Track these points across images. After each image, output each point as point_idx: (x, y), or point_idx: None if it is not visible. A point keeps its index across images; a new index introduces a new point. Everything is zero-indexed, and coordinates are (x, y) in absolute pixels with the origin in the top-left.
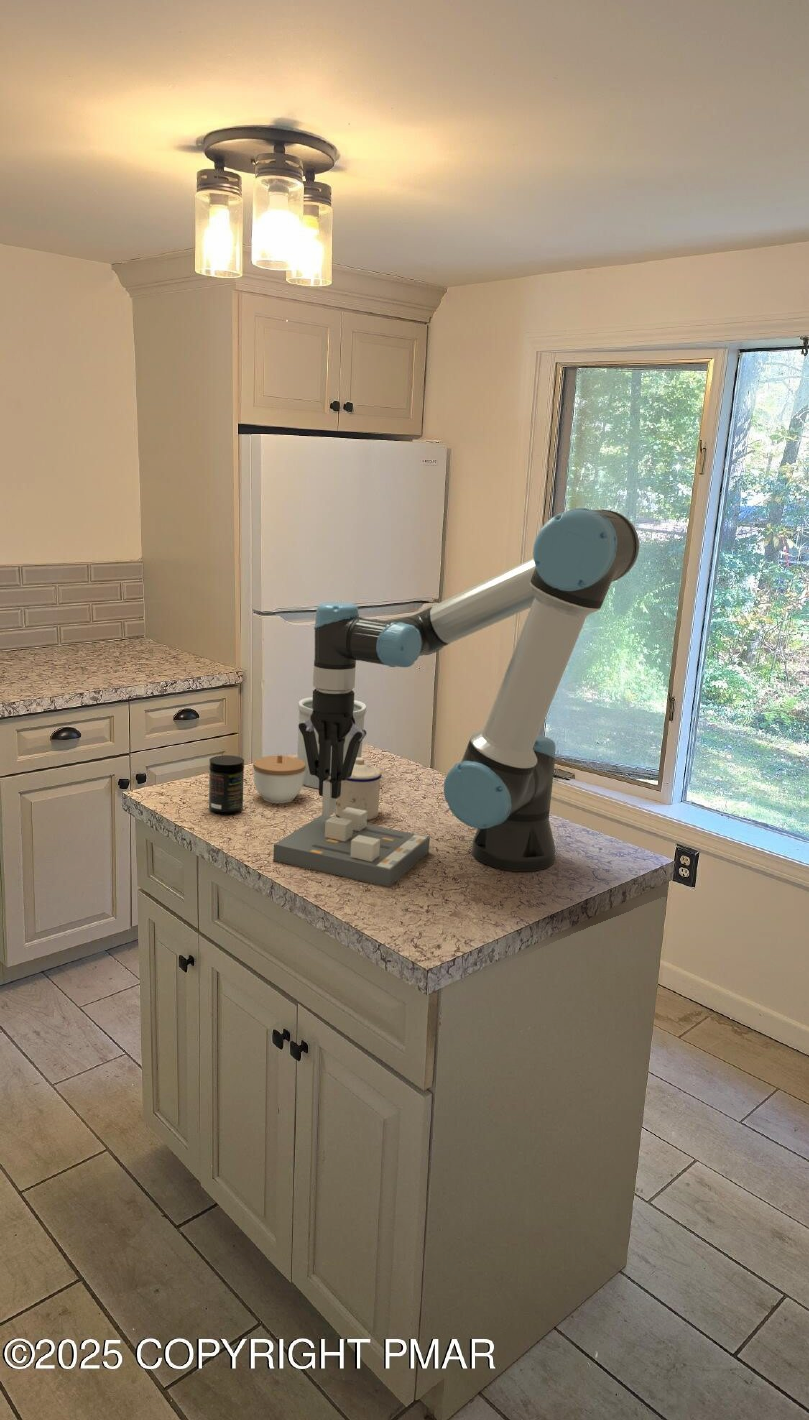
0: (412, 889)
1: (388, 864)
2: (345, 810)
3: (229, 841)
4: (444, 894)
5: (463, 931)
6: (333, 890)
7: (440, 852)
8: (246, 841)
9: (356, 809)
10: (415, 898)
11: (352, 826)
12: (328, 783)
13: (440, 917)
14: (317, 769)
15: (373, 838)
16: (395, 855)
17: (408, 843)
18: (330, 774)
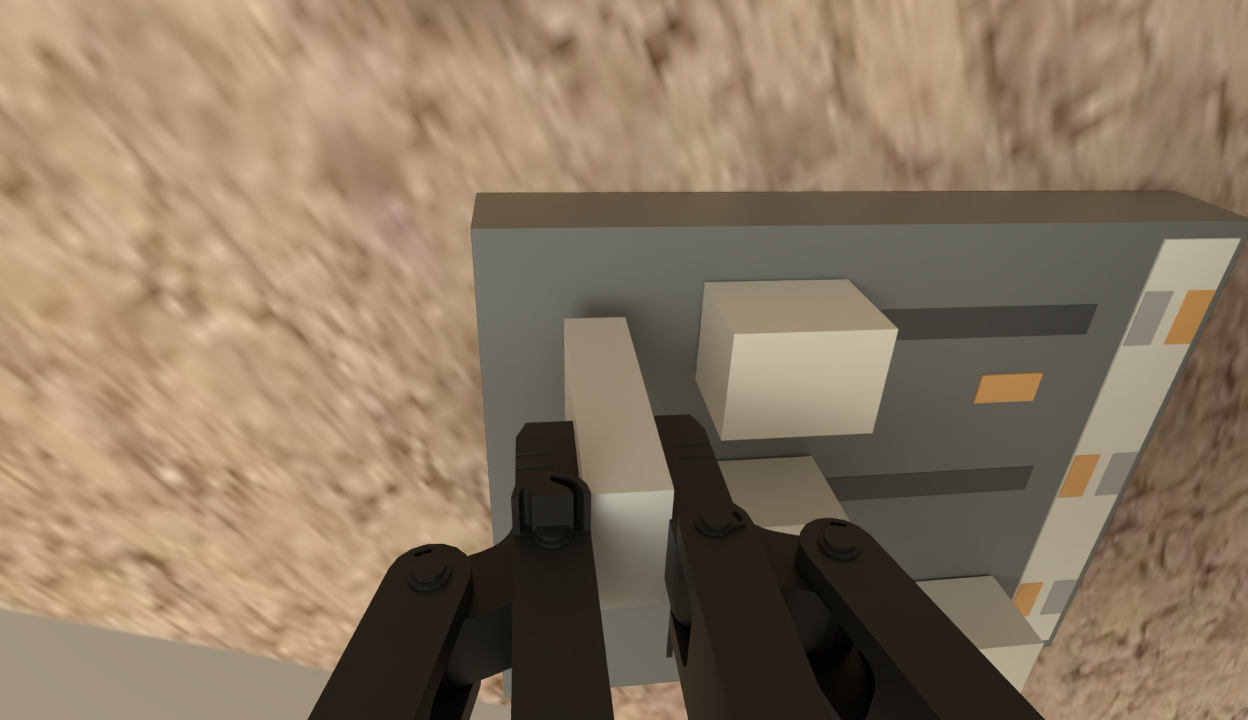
0: (1091, 563)
1: (1040, 617)
2: (744, 404)
3: (180, 583)
4: (1206, 540)
5: (1235, 688)
6: None
7: (1239, 150)
8: (246, 545)
9: (813, 345)
10: (1102, 608)
11: (833, 498)
12: (642, 598)
13: (1177, 661)
14: (480, 670)
15: (1010, 651)
16: (1064, 536)
17: (1124, 382)
18: (589, 512)
